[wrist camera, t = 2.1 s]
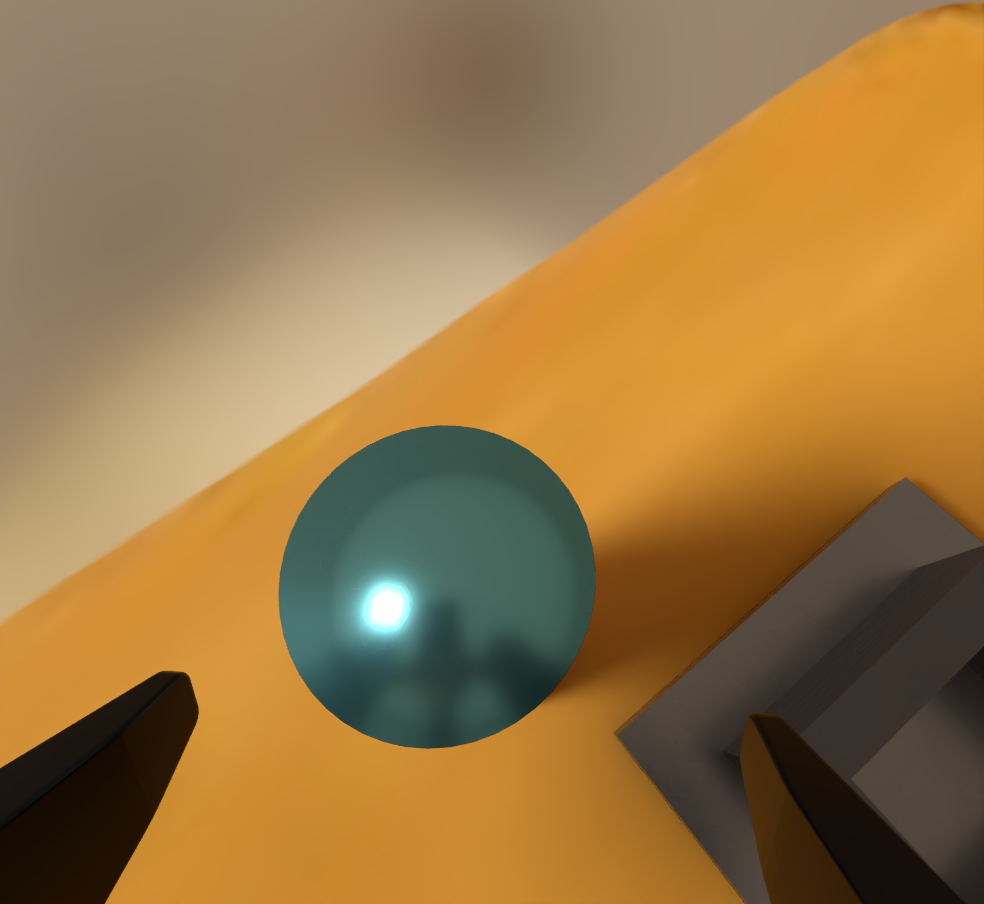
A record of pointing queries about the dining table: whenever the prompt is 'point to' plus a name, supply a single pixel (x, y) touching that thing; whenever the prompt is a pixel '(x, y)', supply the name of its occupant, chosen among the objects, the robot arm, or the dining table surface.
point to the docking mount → (844, 693)
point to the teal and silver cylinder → (437, 586)
